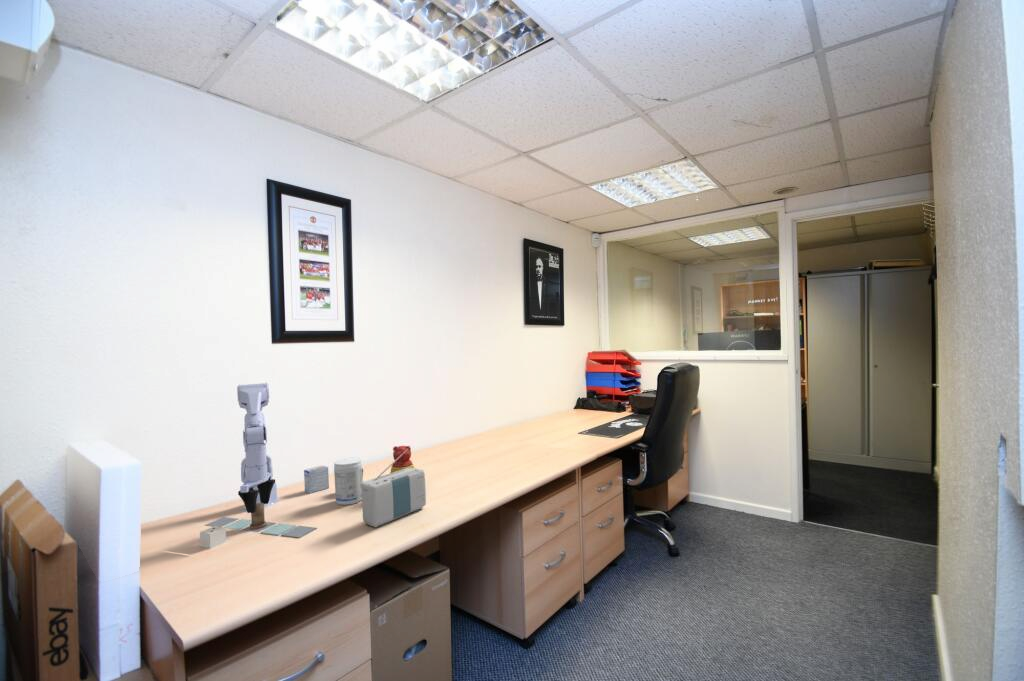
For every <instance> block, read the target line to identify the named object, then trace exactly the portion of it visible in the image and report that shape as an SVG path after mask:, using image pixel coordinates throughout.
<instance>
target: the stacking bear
mask: <svg viewBox="0 0 1024 681" xmlns="http://www.w3.org/2000/svg"><path fill="white" fill-rule="evenodd" d="M407 449H408V450H407ZM411 449H412V448H411V446H410V445H399V446H393V447H392V450H393V453H392V456H393V460H394V461H395V460H396V459H397V458H398V457H399V456H400V455H402V454H403V453H404V452H405V451H406V450H407V451H406V452H405V453H404V454H403V455H402V456H401V457H400V458H399V459H398V460H397V461H396V462H395V463H394V464H393V465H391V466H390V472H389V474H390V473H393V472H396V471H399V470H403V469H406V468H415V465H414V463H413V461H412V460H410V459H411V456H412V451H411Z"/></svg>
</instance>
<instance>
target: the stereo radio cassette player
mask: <svg viewBox="0 0 1024 681" xmlns="http://www.w3.org/2000/svg"><path fill="white" fill-rule="evenodd" d="M407 450H408V449H407ZM407 450H406V451H407ZM406 451H405V452H406ZM405 452H404V453H405ZM404 453H403V454H404ZM403 454H402V455H403ZM402 455H400V456H399V457H398V458H397V459H396V460H394V461H392V463H390V464H389V465H388V467H387V466H386V468H385V469H384V470H382V472H381V473H380V474H378V476H376V477H375V478H371V479H368V480H365V481H363V482H361V489H362V500H361V503H362V504H361V505H362V506H361V507H362V521H363V522H364V523H365V524H366V525H369V526H372V527H374V528H378V527H379V526H382V525H385V524H387V523H389V522H392V521H394V520H396V519H399V518H402V517H404V516H406V515H409V514H411V513H414V512H416V511H418V510H422V509H423V508H424V507H425V506H426V504H427V488H426V487H427V486H426V475H425V471H424V469H419V468H415V467H414V468H406V469H403V470H399V471H396V472H393V473H390V472H389V473H387V474H385V473H386V471H387V470H388V469H389V468H391V467H392V465H393V464H394V463H395V462H396V461H397V460H398V459H399V458H400V457H401V456H402ZM383 474H385V475H383Z"/></svg>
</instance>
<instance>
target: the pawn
mask: <svg viewBox="0 0 1024 681" xmlns="http://www.w3.org/2000/svg"><path fill="white" fill-rule="evenodd" d="M250 516H251V518H250V520H251V521H252V524H250V525H249V526H250V529H252V530H255V529H260V528H263V527H265V526H267V522H268V521H266V520H265V508H264V503H257V504H256V511H255V512H254V513H250Z"/></svg>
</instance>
